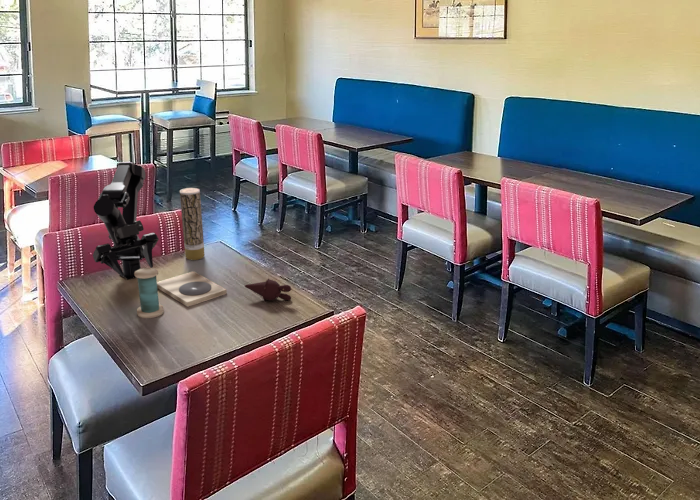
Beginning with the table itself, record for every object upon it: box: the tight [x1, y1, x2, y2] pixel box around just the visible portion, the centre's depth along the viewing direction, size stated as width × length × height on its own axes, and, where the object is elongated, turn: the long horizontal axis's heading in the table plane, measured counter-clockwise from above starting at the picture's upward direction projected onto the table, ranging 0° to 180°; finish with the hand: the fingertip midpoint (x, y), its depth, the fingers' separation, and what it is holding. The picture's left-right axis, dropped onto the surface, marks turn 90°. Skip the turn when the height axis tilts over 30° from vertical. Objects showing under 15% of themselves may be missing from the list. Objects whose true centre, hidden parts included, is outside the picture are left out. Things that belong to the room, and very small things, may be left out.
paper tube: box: [179, 187, 205, 261], centre depth 229 cm, size 7×7×25 cm
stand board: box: [157, 271, 228, 307], centre depth 206 cm, size 20×14×2 cm
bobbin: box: [134, 267, 165, 319], centre depth 189 cm, size 8×8×13 cm
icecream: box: [244, 278, 292, 302], centre depth 200 cm, size 7×7×15 cm
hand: (137, 271), depth 191 cm, fingers open, 9 cm apart
